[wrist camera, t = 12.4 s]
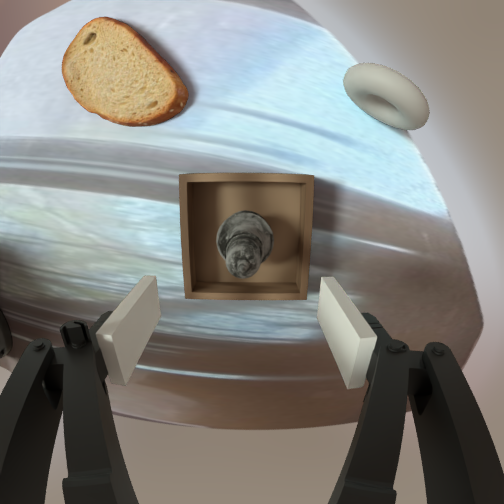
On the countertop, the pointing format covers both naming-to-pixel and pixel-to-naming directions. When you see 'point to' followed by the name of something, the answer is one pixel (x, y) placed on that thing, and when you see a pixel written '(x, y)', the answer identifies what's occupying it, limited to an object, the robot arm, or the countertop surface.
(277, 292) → the box
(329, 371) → the countertop surface
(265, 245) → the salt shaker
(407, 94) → the donut
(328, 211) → the countertop surface
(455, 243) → the countertop surface
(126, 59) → the slice of bread
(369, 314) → the robot arm
